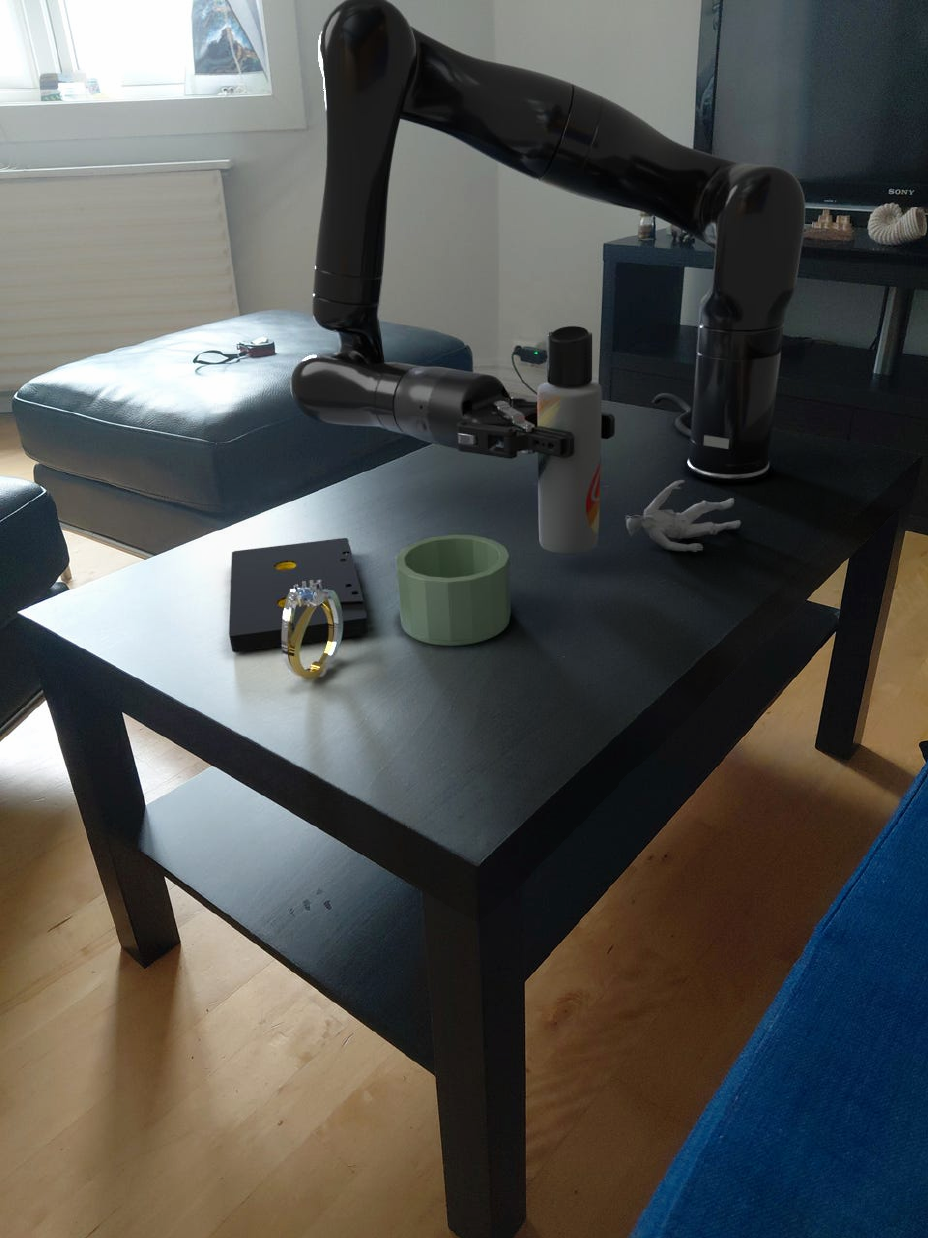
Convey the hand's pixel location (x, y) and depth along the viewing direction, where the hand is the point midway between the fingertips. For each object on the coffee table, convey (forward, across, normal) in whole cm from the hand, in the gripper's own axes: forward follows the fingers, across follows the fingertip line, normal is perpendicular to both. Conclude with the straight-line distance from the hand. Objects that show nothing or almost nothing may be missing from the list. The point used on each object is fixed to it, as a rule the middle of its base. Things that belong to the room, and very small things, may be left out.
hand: (592, 436), depth 84 cm
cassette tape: (-19, -20, +14) cm, 31 cm away
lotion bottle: (-2, 0, +11) cm, 11 cm away
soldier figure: (+3, +12, +14) cm, 19 cm away
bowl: (-4, -14, +13) cm, 20 cm away
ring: (-7, -28, +14) cm, 32 cm away
